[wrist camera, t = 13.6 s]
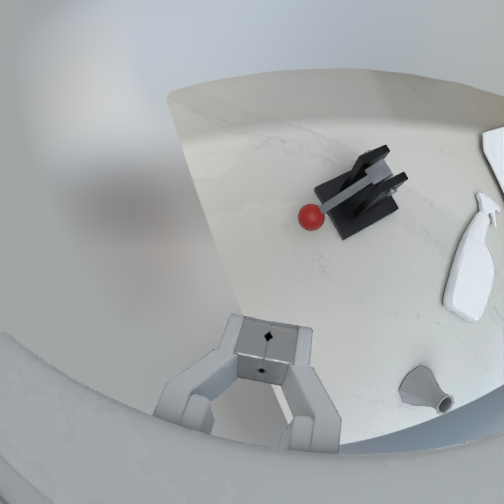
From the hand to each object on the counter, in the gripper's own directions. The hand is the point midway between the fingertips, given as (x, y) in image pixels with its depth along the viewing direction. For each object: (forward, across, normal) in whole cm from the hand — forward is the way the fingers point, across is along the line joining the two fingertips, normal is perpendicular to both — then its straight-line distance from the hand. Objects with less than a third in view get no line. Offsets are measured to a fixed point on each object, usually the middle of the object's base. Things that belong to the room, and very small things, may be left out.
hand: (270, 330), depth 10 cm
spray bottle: (+31, -36, +13) cm, 49 cm away
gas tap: (+34, -10, +10) cm, 36 cm away
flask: (+14, -27, +30) cm, 42 cm away
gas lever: (+28, -7, +7) cm, 29 cm away
